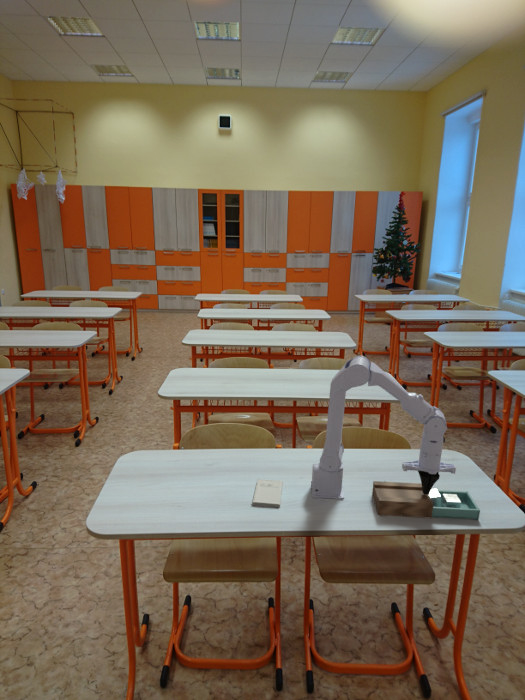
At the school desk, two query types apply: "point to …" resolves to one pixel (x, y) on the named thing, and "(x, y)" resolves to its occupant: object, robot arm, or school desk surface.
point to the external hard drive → (268, 493)
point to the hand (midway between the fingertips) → (425, 492)
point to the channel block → (401, 499)
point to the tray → (464, 512)
